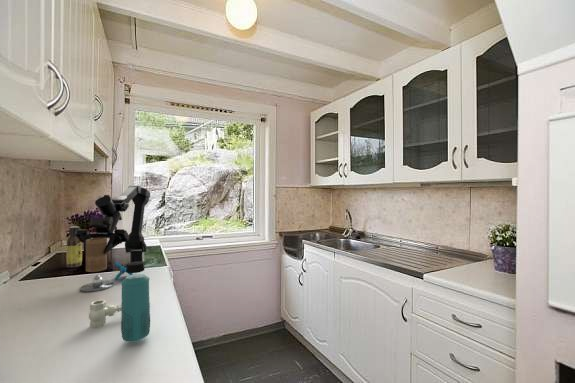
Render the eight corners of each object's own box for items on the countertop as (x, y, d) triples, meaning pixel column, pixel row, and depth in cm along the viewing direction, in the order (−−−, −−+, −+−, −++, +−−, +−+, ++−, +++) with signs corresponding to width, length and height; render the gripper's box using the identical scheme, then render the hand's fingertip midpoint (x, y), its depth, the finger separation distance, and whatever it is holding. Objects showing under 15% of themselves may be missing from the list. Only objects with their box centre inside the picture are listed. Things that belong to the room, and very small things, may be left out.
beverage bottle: (154, 340, 71) (154, 262, 71) (125, 351, 66) (126, 267, 66) (144, 331, 75) (144, 258, 75) (116, 341, 70) (116, 262, 70)
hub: (76, 287, 110) (76, 276, 109) (108, 280, 118) (108, 270, 118) (84, 294, 102) (84, 282, 102) (117, 286, 110) (117, 275, 110)
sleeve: (82, 270, 108) (82, 240, 108) (99, 266, 114) (99, 237, 114) (93, 272, 106) (93, 241, 106) (110, 268, 112) (110, 238, 112)
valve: (91, 332, 75) (139, 317, 84) (91, 308, 75) (139, 295, 84) (86, 324, 80) (132, 311, 88) (86, 301, 80) (132, 290, 88)
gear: (137, 275, 119) (117, 261, 116) (126, 287, 116) (105, 273, 113) (134, 273, 128) (116, 259, 125) (124, 284, 125) (105, 270, 122)
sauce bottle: (81, 267, 139) (81, 227, 138) (65, 268, 135) (65, 228, 135) (82, 264, 144) (82, 225, 144) (67, 265, 141) (67, 226, 141)
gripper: (77, 209, 113) (58, 242, 102) (126, 209, 115) (112, 241, 104) (89, 226, 121) (72, 258, 110) (134, 226, 123) (122, 257, 112)
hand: (94, 253), depth 109 cm, fingers closed on sleeve, 7 cm apart
